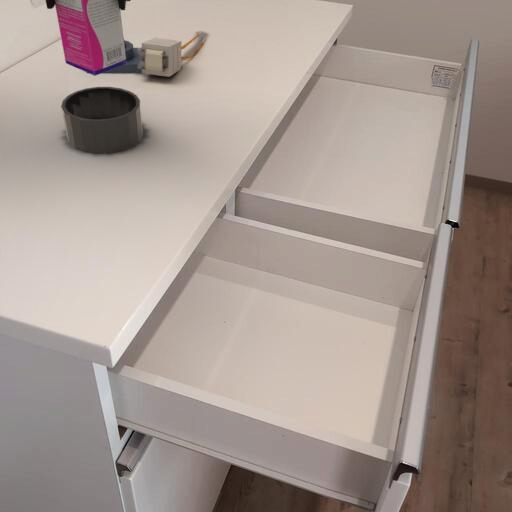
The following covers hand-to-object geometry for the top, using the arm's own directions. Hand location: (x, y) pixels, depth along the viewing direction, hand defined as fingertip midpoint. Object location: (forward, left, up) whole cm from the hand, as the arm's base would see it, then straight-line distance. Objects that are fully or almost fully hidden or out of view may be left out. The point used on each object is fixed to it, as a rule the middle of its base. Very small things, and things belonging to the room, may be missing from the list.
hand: (87, 5), depth 68 cm
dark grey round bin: (0, 0, -19) cm, 19 cm away
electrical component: (+11, +31, -19) cm, 38 cm away
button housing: (0, +28, -19) cm, 34 cm away
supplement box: (0, 0, -8) cm, 8 cm away
